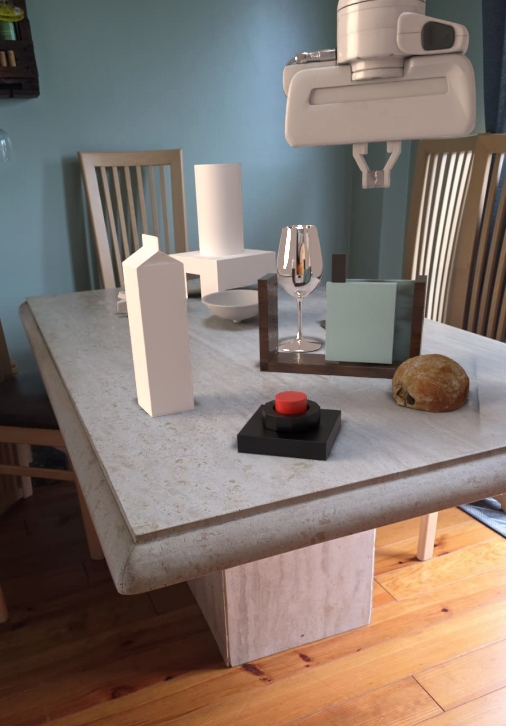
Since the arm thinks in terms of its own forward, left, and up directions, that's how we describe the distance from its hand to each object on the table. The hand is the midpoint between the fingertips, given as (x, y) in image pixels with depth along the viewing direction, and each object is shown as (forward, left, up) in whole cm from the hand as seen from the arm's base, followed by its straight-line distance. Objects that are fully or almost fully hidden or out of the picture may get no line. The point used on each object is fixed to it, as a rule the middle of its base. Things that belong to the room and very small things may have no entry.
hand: (376, 188), depth 70 cm
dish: (+32, -45, -27) cm, 61 cm away
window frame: (+6, -16, -27) cm, 32 cm away
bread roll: (-8, -5, -27) cm, 28 cm away
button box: (+7, +12, -27) cm, 30 cm away
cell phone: (+7, -45, -27) cm, 53 cm away
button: (+7, +12, -23) cm, 27 cm away
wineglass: (+15, -28, -27) cm, 42 cm away
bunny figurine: (+57, -50, -27) cm, 81 cm away
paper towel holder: (+45, -74, -27) cm, 91 cm away
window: (+3, -15, -25) cm, 29 cm away
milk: (+26, +5, -27) cm, 38 cm away
